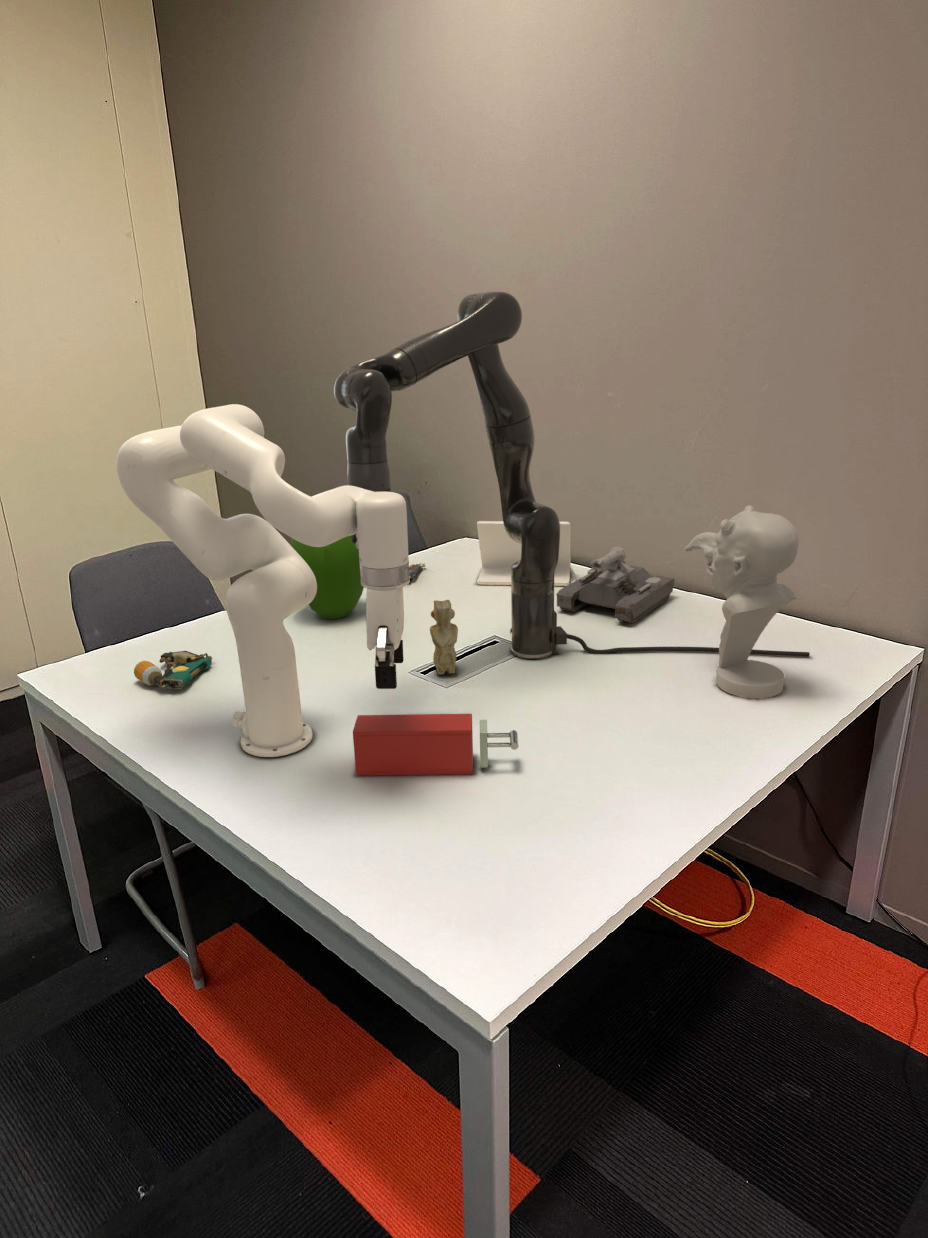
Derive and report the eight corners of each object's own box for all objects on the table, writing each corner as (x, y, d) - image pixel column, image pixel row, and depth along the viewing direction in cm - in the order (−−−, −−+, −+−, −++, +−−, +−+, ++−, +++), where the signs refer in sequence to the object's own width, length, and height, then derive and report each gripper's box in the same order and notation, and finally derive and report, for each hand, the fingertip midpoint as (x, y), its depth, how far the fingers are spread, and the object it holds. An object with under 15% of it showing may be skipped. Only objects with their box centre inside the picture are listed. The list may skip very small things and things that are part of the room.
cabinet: (473, 756, 146) (471, 713, 143) (472, 774, 140) (471, 730, 138) (360, 757, 146) (357, 715, 144) (356, 775, 141) (352, 731, 138)
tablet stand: (569, 585, 229) (570, 524, 223) (476, 584, 232) (475, 523, 226) (570, 566, 246) (571, 508, 240) (484, 564, 249) (483, 507, 243)
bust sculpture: (717, 648, 186) (730, 489, 174) (806, 688, 166) (828, 512, 154) (660, 663, 179) (669, 500, 167) (745, 707, 159) (763, 525, 147)
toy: (603, 584, 229) (605, 530, 224) (673, 597, 218) (677, 540, 213) (555, 612, 210) (556, 553, 205) (630, 627, 199) (633, 566, 194)
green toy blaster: (177, 659, 191) (231, 671, 185) (120, 684, 176) (176, 698, 171) (176, 641, 190) (230, 653, 184) (118, 665, 175) (174, 678, 169)
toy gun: (374, 578, 232) (409, 575, 230) (392, 563, 250) (425, 560, 247) (376, 588, 232) (411, 585, 230) (394, 572, 250) (427, 569, 248)
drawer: (517, 752, 145) (517, 719, 143) (518, 766, 140) (518, 732, 138) (381, 754, 146) (378, 721, 143) (377, 768, 141) (375, 734, 139)
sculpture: (458, 662, 183) (456, 596, 178) (460, 676, 176) (457, 608, 171) (431, 663, 183) (428, 597, 177) (431, 677, 176) (428, 609, 171)
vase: (389, 608, 216) (383, 514, 208) (339, 633, 201) (330, 533, 192) (330, 596, 226) (322, 506, 218) (278, 619, 211) (267, 523, 202)
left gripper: (368, 557, 139) (374, 653, 145) (351, 592, 123) (358, 698, 129) (414, 557, 139) (418, 653, 145) (403, 592, 123) (408, 699, 129)
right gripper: (406, 489, 147) (411, 579, 153) (371, 477, 158) (377, 560, 164) (366, 495, 143) (373, 587, 149) (334, 482, 155) (341, 567, 161)
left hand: (390, 674), depth 137 cm, fingers open, 9 cm apart
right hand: (375, 573), depth 157 cm, fingers open, 8 cm apart
